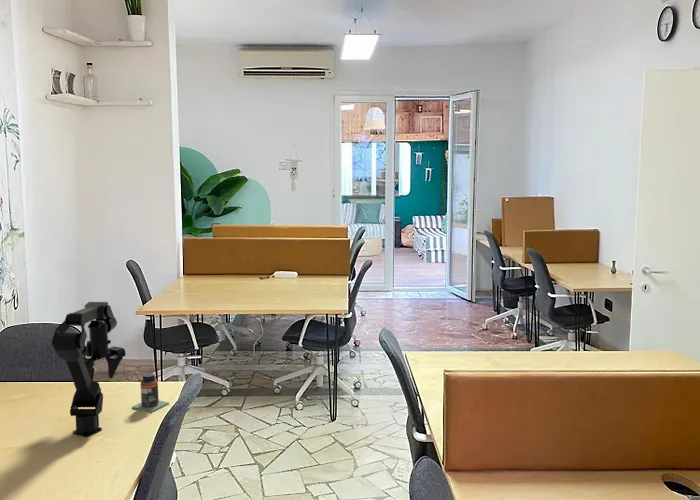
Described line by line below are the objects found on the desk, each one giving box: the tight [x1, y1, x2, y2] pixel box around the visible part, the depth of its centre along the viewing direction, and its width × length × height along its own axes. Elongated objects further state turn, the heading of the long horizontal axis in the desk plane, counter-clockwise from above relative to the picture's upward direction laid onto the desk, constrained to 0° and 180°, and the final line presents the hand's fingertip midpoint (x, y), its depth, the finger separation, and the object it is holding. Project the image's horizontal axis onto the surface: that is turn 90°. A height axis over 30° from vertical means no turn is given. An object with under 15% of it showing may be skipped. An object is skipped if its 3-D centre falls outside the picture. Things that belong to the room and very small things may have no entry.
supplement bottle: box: [140, 372, 160, 407], centre depth 229 cm, size 6×6×11 cm
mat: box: [131, 399, 170, 414], centre depth 230 cm, size 9×9×1 cm
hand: (100, 382), depth 219 cm, fingers open, 9 cm apart
